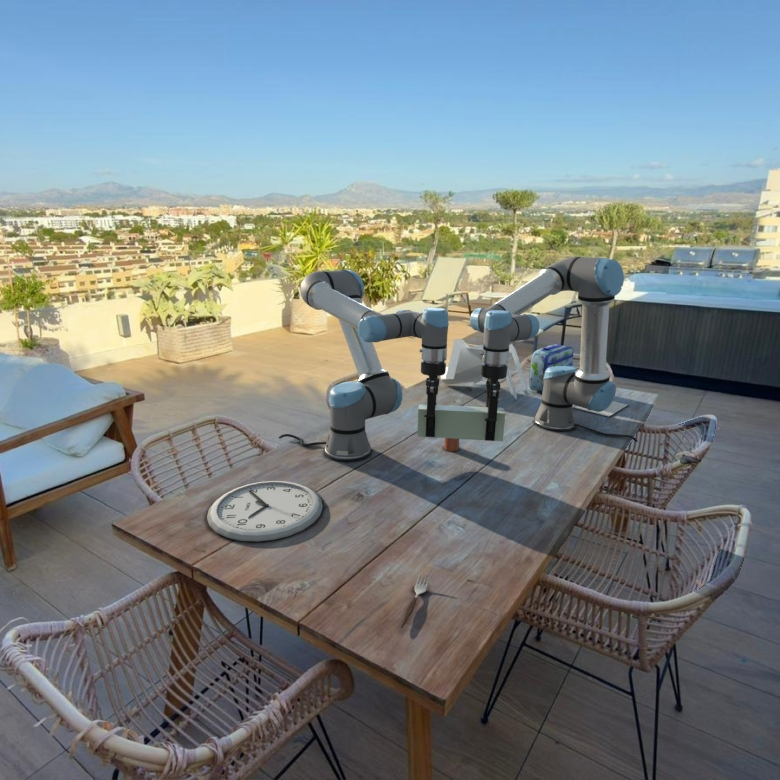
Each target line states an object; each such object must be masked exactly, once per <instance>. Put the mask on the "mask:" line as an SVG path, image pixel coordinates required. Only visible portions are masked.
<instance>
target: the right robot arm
mask: <svg viewBox="0 0 780 780" xmlns="http://www.w3.org/2000/svg"><path fill="white" fill-rule="evenodd" d="M624 274H625V273H624V270H623V266H622V265H621V264H620V263H619V261H618V260H615V259H612V258H606V257H592V256H591V257H590V256H587V257H586V256H571V257H566V258H563V259H561V260H559V261H556V262H554V263H552V264H550V265H549V266H547V267H545V268H544V269H542V270H541V271H540V272H539V274H538V276H536V277H535V278H533V279H531V280H530V281H529V282H526V284H524V285H522V286H520V287H519V288H517V289H516V290H514V291H513V292H512V293H510V294H508V295H506V296H505V297H503V298H502V299H500V300H499V301H497V302H495V303H494V304H492V305H490V306H489V307H487V308H485V307H478V308H475V309H473V311H472V312H471V314H470V317H469V323H470V327H471V329H473V330H474V331H477V332H479V333H481V334H483V342H482V343H483V344H482V345H483V352H481V355H483V357H482V362H483V364H482V369H481V375H482V376H483V378H484V379H486V381H485V387H486V388H485V389H486V390H485V393H486V398H485V406H484V407H488V417H487V419H485V421H486V434H485V440H484V441H489V442H495V441H494V438H495V426H496V421H497V408H499V407H498V406H499V398H500V390H501V383H500V381H499V380H504V379H506V376H507V367H508V368H509V365H508V364H509V360H508V357H509V345H510V344H511V343H512V342H513V343H514V342H520V341H527V340H530V339H533V338H535V337H536V336H537V335H538V334H539V331H540V321H539V319H538V318H537V316H536V315H533V314H530V313H528V314H527V313H525V312H527V311H528V310H530V309H531V308H533V307H534V306H536V305H538V304H539V303H540V302H542V301H543V300H545V299H547V297H549V296H551V295H552V296H554V295H558V294H559V293H561V292H569V291H570V292H576V293H577V300H578V302H580V304H581V305H582V306H581V307H582V308H581V327H580V328H581V329H580V330H581V331H580V334H581V335H580V351H579V353H580V354H579V355H580V356H579V369H578V368H577V367H576V366H572V367H571V366H555V367H549V368H547V369H546V371H545V375H544V378H543V379H544V381H543V391H542V392H541V393H542V394H541V402H540V405H539V407H538V410H537V411H536V413H535V417H534V424H535V425H536V426H537V427H539V428H542V429H544V430H549V431H556V432H567V431H572V430H574V429H575V428H577V427H578V428H580V429H584V430H586V431H590V432H593V433H595V434H598V435H601V436H606V437H618V438H629V439H631V440H633V441H634V442H636V443H638V440H637V438H636V437H635V436H633V435H630V434H619V433H606V432H602V431H599V430H596V429H593V428H590V427H588V426H584V425H582V424H578V423H576V418H575V417H576V416H575V413H574V407H573V406H575V407H576V406H579V407H582V408H586V409H588V410H593V411H597V412H601V411H604V410H605V409H606V408H608V406H609V405H610V404H611V402H612V401H614V398H615V396H616V392H617V386H616V384H615V383H614V382H613V381H610V378H611V377H610V376H611V375H610V372H609V371H608V370H607V367H606V365H607V353H608V352H607V350H608V336H609V334H608V333H609V320H610V319H609V318H610V316H609V315H610V304H611V303H612V302H613V301H615V298H616V296H617V295H618V294H620V293H621V291H622V289H623V288H622V287H624V283H625V275H624ZM506 364H507V365H508V366H507V365H506Z"/></svg>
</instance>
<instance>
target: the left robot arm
mask: <svg viewBox="0 0 780 780" xmlns="http://www.w3.org/2000/svg"><path fill="white" fill-rule="evenodd" d="M364 290H365V284H364V282H363V279H362V277H361V276H360V275H359V274H358V273H357V272H356V271H354V270H352V269H351V270H350V269H339V270H337V269H336V270H317V271H313V272H310V273H309V274H307V275H305V277H304V278H303V279H302V281H301V284H300V290H299V291H300V296H301V299H302V300H303V302H304V303H305V304H306V305H307V306H309V307H310V308H312V309H314V310H317V311H320V310H321V311H323V312H325V313H327V314H329V315H331V316H332V317H334V318H336V319H337V320H338V322H339V324H340V327H341V330H342V333H343V335H344V336H343V337H344V339H345V341H346V344H347V347H348V350H349V352H350V355H351V358H352V360H353V364H354V366H355V369H356V372H357V375H358V380H356V381H354V380H353V381H344V382H340V383H338V384H336V385H334V386H333V387H332V388H331V389H330V391H329V400H328V401H329V402H328V404H329V434H328V437H327V440H326V441H315V442H308V443H304V439H302V438H301V437H299V436H296V435H294V434H289V433H284V434H281V435H279V436H278V439H282V438H284V437H285V438H287V437H288V438H292V439H295V440H298V441H299V443H300V446H302V447H312V446H318V445H319V446H320V445H325V447H324V453H325V456H327V457H328V458H329V459H332V460H335V461H340V462H353V461H359V460H364V459H366V458H367V457H368V456H369V455H370V454H371V443H370V442H369V438H368V435H367V432H366V420H369V419H373V418H376V417H380V416H384V415H385V416H386V415H389V414H391V413H393V412H396V411H397V410H398V409H399V408H400V407H401V405H402V401H403V396H404V395H403V394H404V393H403V388H402V385H401V383H400V381H398V380H397V379H396V378H392V377H391V376H390V373H389V371H387V370H385V369H384V368H383V367H382V364H381V361H380V358H379V356H378V353H377V350H376V348H375V344H374V343H380V342H385V341H390V340H395V339H402V338H409V337H410V338H411V337H412V338H413V337H414V338H417V339H421V348H420V349H419V353H421V356H420V357H421V361H420V373H421V374H422V375H424V376H428V377H426V380H425V386H426V389H425V390H426V391H425V393H426V396H427V397H426V398H427V399H426V404H427V414H426V415H424V417H426V437H425V438H436V437H435V405H438V404H437V396H438V394H439V387H440V378H439V377H441V375H444V374H445V373H446V367H447V362H446V361H447V357H448V334H449V326H450V323H449V312H448V310H447V309H445V308H441V307H440V308H439V307H426V308H424V309H423V310H422V312H418V311H413V310H410V309H400V310H398V311H396V312H394V313H384V314H382V313H379V312H378V311H375V310H374V309H371V308H370V307H368V306H366V305H364V304H363V298H364V295H365V291H364Z"/></svg>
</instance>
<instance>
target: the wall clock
mask: <svg viewBox="0 0 780 780" xmlns="http://www.w3.org/2000/svg"><path fill="white" fill-rule="evenodd" d="M323 507H324V506H323V501H322V498H321V497H320V495H318V492H316V491H314V490H312V489H311V488H310V487H308V486H306V485H302V484H299V483H297V482H291V481H281V480H269V481H268V480H267V481H258V482H253V483H248V484H245V485H242V486H239V487H235V488H233V489H232V490H229V491H228V492H226V493H224V494H223V495H221V496H220V497H219V498H217V499H216V500H215V501H214V502H213V503H212V504H211V505H210V507H209V509H208V512H207V514H206V515H207V516H206V520H207V523H208V525H209V527H210V528H211V529H212V530H213V531H214V532H215V533H216V534H218V535H220V536H223V537H224V538H227V539H231V540H236V541H239V542H240V541H241V542H258V543H259V542H264V541H265V542H267V541H276V540H278V539H283V538H287V537H290V536H293V535H295V534H298V533H301V532H302V531H305V529H308V528H309V527H310V526H311V525H313V524H314V523H315V522H316V521H317V520H318V519H319V518H320V516H321V514H322V511H323Z"/></svg>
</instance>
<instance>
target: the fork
mask: <svg viewBox="0 0 780 780" xmlns="http://www.w3.org/2000/svg"><path fill="white" fill-rule="evenodd" d="M421 572H422V571H421V570H420V571H419V574H418V577H417V580H416V583H415V585H414V592H415V596H413V597H414V598H413V599H412V600H411V601H410V603H409V605H408V607H407V608H406V611H405V614H404V618H403V620H402V624H401V625H400V628H401V629H403V628H404V627H405V625H406V623H407V621H408V620H409V617H410V616H411V615H412V613H413V611H414V609H415V606H416V603H417V599H418V597H419V596H420V595H423V594H425V593H426V592H427V590H428V587H429V582H430V577H431V574H429V575H428V572H426V573H425V571H423V573H422V575H421ZM424 574H425V577H424ZM427 576H428V578H427ZM423 579H424V580H423ZM426 580H427V581H426Z"/></svg>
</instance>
